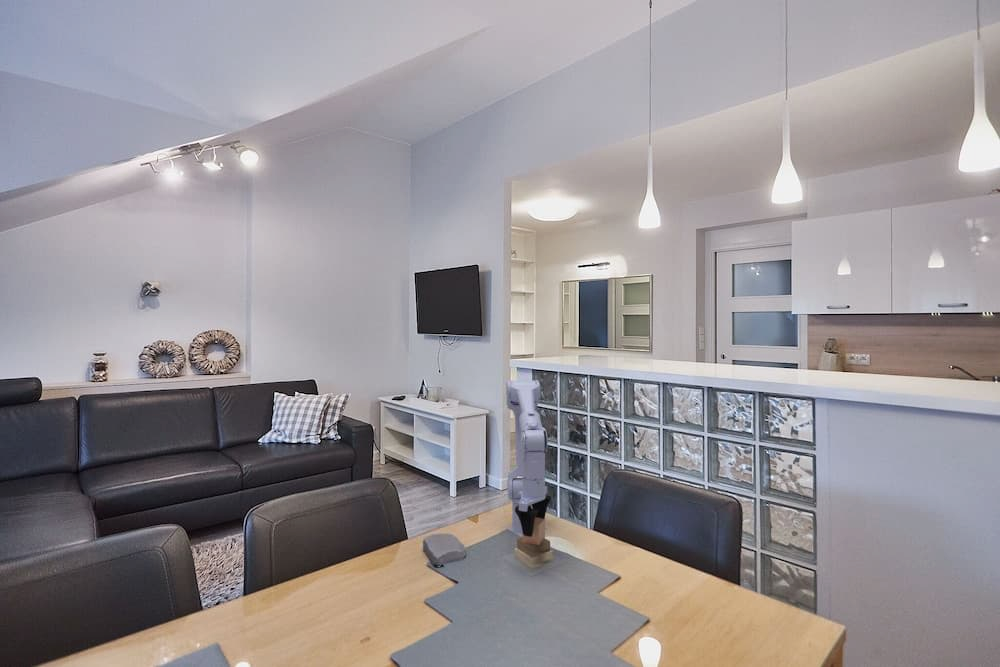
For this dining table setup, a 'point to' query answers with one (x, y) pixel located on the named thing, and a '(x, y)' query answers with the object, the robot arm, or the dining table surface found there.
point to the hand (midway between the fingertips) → (533, 529)
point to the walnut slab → (533, 547)
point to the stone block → (443, 548)
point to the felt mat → (535, 570)
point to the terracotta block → (536, 532)
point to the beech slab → (533, 558)
